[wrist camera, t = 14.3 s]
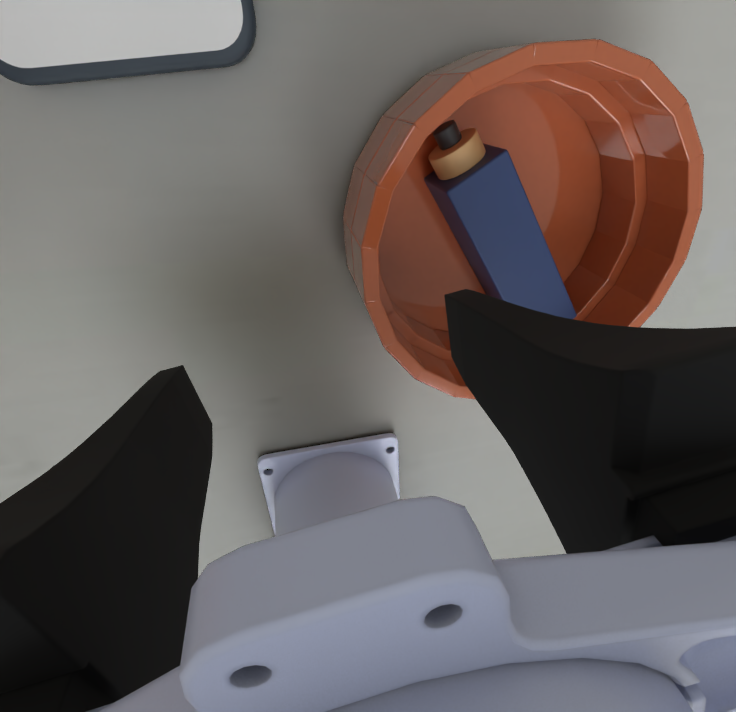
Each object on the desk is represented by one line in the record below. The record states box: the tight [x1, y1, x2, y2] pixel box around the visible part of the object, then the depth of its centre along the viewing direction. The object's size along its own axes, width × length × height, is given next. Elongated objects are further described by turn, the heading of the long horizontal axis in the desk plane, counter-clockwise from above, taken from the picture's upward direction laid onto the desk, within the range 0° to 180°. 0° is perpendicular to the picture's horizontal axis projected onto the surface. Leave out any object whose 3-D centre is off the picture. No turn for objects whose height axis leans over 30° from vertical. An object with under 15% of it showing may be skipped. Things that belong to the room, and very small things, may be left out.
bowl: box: [343, 39, 704, 399], centre depth 19 cm, size 13×13×5 cm
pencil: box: [424, 120, 577, 319], centre depth 20 cm, size 10×3×3 cm, turn 33°
